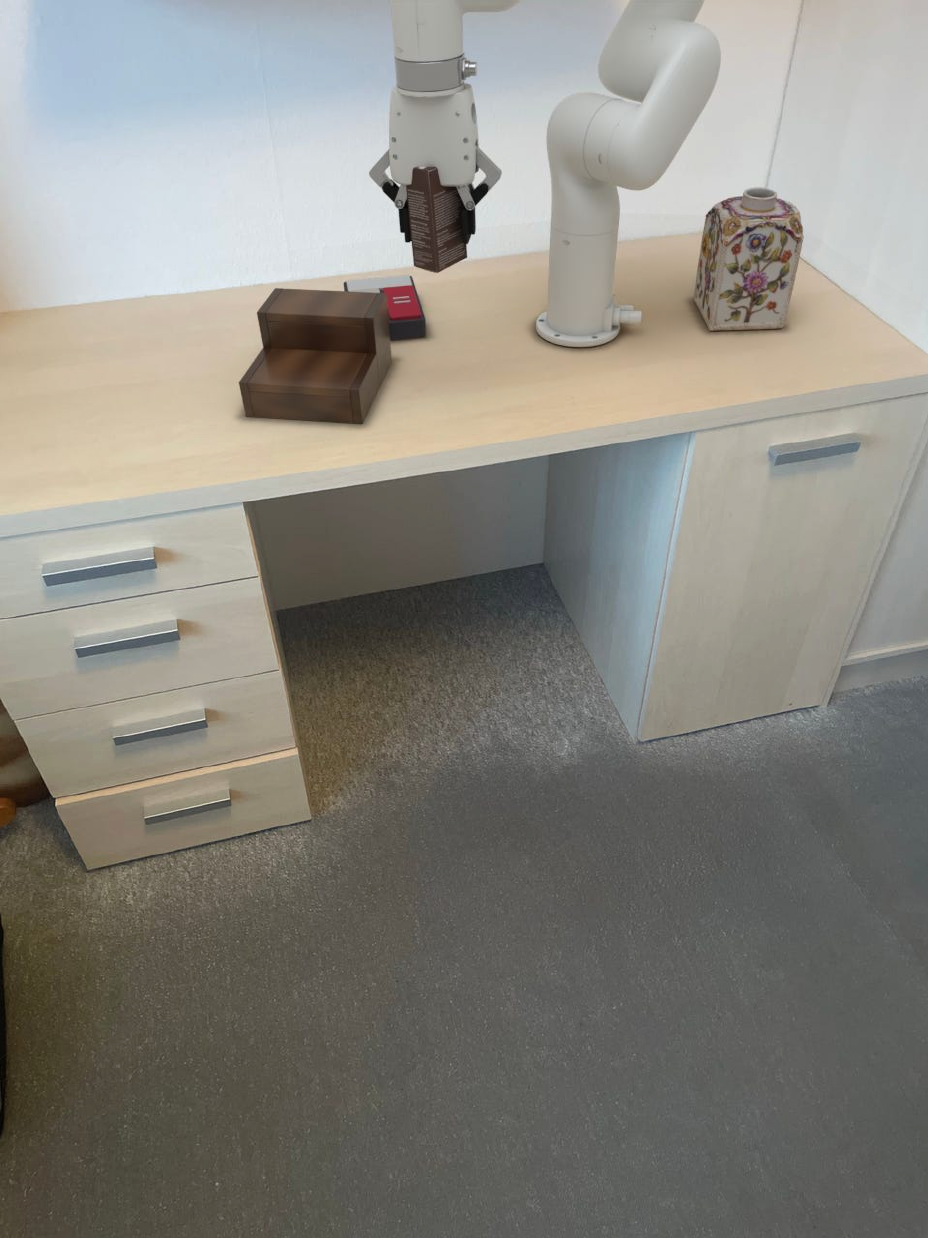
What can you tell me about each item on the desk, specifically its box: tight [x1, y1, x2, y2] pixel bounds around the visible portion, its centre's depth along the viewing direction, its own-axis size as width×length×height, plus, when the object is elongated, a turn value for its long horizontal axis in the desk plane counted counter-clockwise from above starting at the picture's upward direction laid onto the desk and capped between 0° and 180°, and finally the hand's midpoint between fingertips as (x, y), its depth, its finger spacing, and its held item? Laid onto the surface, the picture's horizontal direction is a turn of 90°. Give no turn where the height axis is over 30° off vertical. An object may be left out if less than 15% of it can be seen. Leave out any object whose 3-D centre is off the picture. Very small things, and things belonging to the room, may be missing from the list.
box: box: [406, 167, 468, 274], centre depth 110 cm, size 6×4×12 cm
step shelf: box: [238, 287, 393, 425], centre depth 123 cm, size 16×18×10 cm
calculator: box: [343, 274, 427, 342], centre depth 140 cm, size 11×4×15 cm
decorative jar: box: [693, 186, 805, 332], centre depth 134 cm, size 12×12×18 cm
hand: (438, 237), depth 112 cm, fingers closed on box, 6 cm apart
